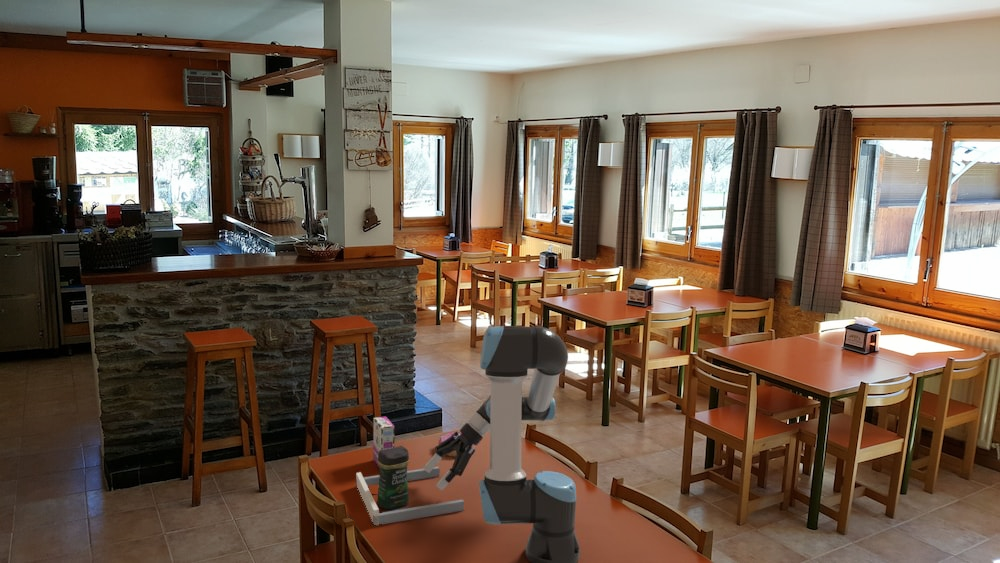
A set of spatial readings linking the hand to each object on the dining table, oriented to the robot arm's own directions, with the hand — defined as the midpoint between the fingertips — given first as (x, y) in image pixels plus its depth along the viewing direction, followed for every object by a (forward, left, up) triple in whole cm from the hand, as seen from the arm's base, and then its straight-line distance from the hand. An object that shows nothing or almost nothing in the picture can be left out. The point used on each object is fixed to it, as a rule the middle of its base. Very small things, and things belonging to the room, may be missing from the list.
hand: (432, 479), depth 237 cm
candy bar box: (+27, +10, -6) cm, 29 cm away
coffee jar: (-2, +13, -6) cm, 15 cm away
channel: (0, +8, -5) cm, 10 cm away
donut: (+31, -19, -6) cm, 37 cm away
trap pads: (0, +14, -5) cm, 15 cm away
